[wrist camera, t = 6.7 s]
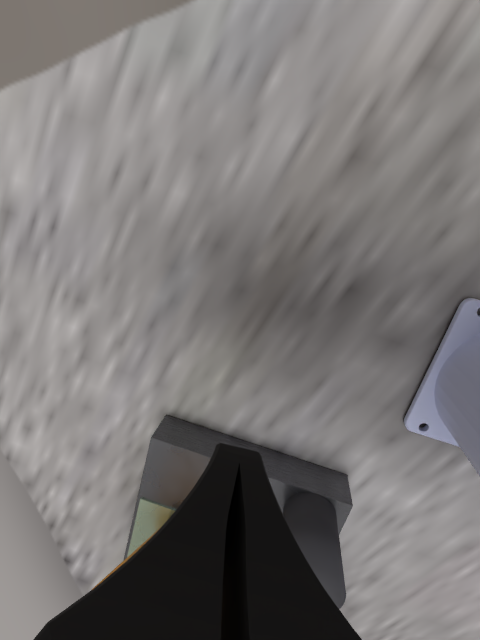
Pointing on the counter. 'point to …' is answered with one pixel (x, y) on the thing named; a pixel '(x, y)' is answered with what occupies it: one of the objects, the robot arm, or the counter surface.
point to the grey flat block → (192, 459)
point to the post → (318, 540)
